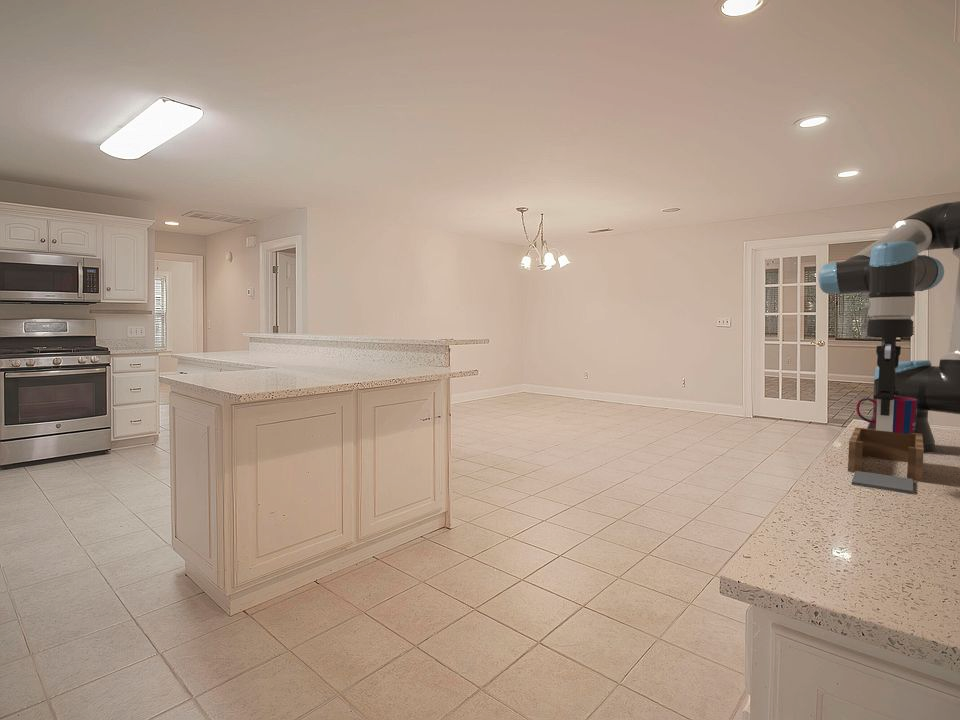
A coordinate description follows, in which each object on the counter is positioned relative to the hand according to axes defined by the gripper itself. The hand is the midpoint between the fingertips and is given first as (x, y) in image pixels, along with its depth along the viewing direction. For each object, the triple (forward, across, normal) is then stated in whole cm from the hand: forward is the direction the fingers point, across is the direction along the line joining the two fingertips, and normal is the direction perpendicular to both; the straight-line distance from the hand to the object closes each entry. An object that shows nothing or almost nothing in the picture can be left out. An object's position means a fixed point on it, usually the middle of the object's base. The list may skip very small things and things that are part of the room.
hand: (884, 427), depth 110 cm
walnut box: (+12, -15, 0) cm, 19 cm away
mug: (+1, 0, 0) cm, 1 cm away
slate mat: (+12, 0, 0) cm, 12 cm away
